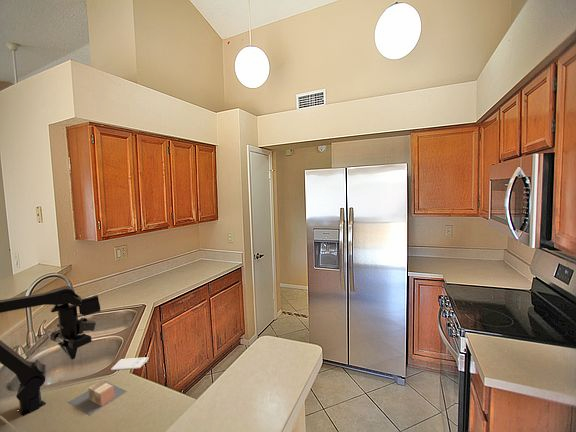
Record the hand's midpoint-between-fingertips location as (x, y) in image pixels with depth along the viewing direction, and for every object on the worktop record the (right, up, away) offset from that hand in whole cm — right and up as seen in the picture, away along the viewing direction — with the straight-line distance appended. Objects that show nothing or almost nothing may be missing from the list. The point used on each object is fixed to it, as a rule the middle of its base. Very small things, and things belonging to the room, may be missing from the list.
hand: (72, 358), depth 108 cm
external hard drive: (+13, -12, +17) cm, 24 cm away
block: (+11, -10, -4) cm, 15 cm away
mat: (+12, -13, -4) cm, 18 cm away
